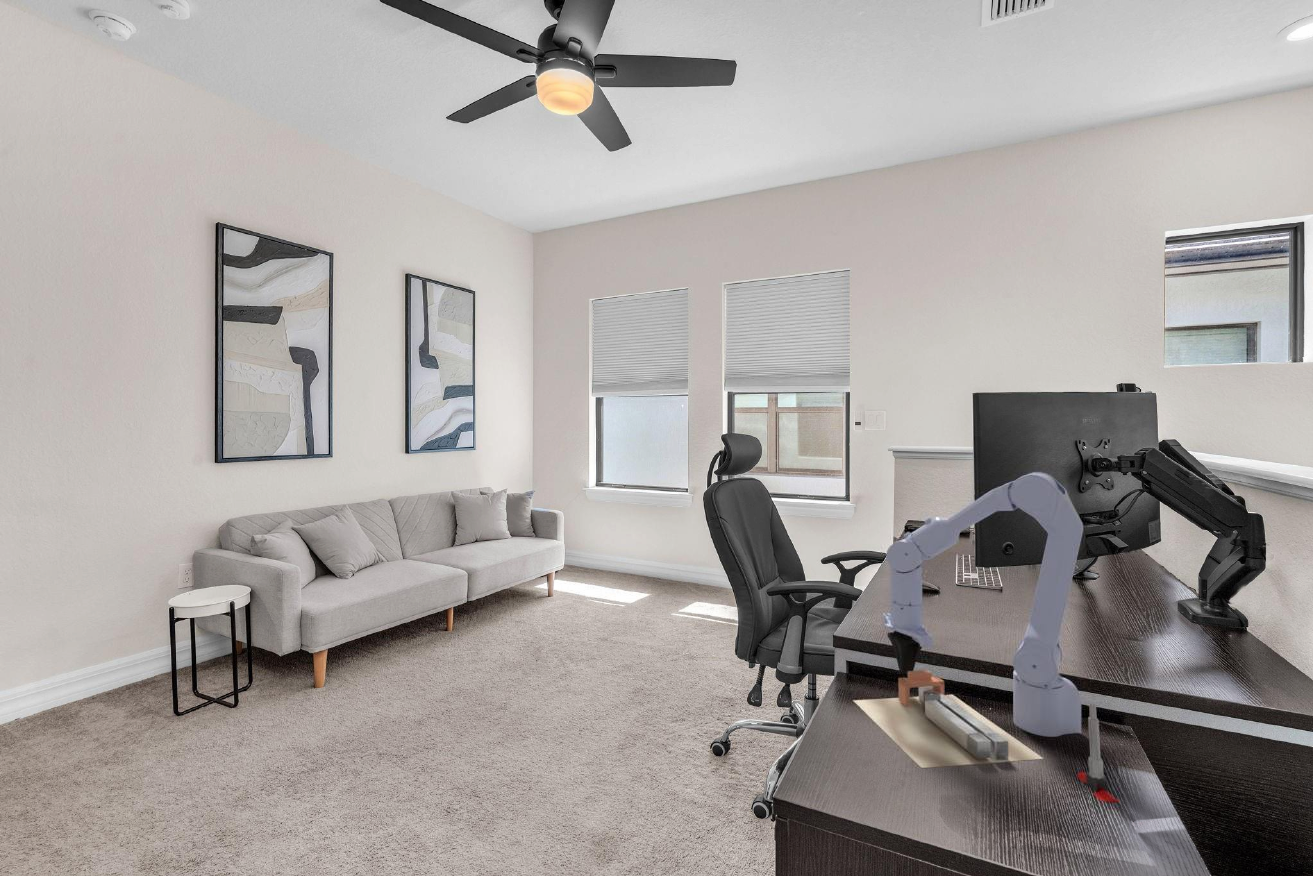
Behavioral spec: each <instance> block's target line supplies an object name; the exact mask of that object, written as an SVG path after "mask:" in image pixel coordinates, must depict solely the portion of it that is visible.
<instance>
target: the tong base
mask: <svg viewBox="0 0 1313 876" xmlns="http://www.w3.org/2000/svg"><path fill="white" fill-rule="evenodd" d="M945 695H946V694H945V693H944V694H942V693H941V692H939V691H938V690H937V689H935V688H934V687H933V686H929V687H918V697H919V700H920V701H922V702H923V711H924V712H925V701H929V700H936V701H938V702H939V703H940V704H941V705H943V706H944V707H945V708H947V709H948V710H949V711H951V712H952V713H953V714H955V715H956V716H957V717H959V718H960V719H961V720H963V721H964V722H965V723H966V724H968V725H969V726H970V727H972V728H973V729H974V730H976V731H977V732H978V733H981V734H982V735H983V736H985V737H986V738H987V739H988V740H990V741H991V757H992V758H993V759H994V760H1007V759H1008V740H1006V739H1005V738H1003V737H1002V736H1001V735H999V734H998V733H996V732H995V731H994V730H992V729H991V728H989V727H988V726H987V725H985V724H984V723H983V722H981V721H980V720H978V719H977V718H976V717H974V716H973V715H971V714H970V713H969V712H967V711H966V710H964V709H963V708H962V707H960V706H959V705H957V704H956V703H955V702H953V701H952V700H951V699H949V698H948V697H946V696H945Z"/></svg>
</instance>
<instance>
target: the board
mask: <svg viewBox="0 0 1313 876" xmlns="http://www.w3.org/2000/svg"><path fill="white" fill-rule="evenodd" d="M944 695H945V696H946V697H948V698H949V699H951V700H952V701H953V702H955V703H956V704H957V705H959V706H960V707H962V708H963V709H964V710H966V711H967V712H969V713H970V714H971V715H973V716H974V717H976V718H977V719H978V720H980V721H981V722H983V723H984V724H985V725H987V726H988V727H989V728H991V729H992V730H994V731H995V732H996V733H998V734H999V735H1001V736H1002V737H1003V738H1005V739H1006V740H1008V759H1007V760H994V759H993V758H992V757H991V758H985V759H977V758H976V757H974V756H973V755H972V754H971V753H970V752H968V751H967V750H966V749H965V748H964V747H962V746H961V745H960V744H959V743H958V742H956V741H955V740H954V739H953V738H952V737H950V736H949V735H948V734H947V733H946V732H944V731H943V730H942V729H941V728H940V727H938V726H937V725H936V724H935V723H933V722H932V721H931V720H930V719H929V718H927V717H926V716H925V712H924V711H923V702H922V701H920V700H919V696H910V706H905V705H904V704H903V703H902V702H900V701H899V697H891V698H874V699H873V698H872V699H857V700H855V699H853V700H852V701H853V702H854V703H855V704H856V705H857V707H859V708H860V709H861V710H862V711H863V712H864V713H865V714H866V716H868V717H869V719H871V720H872V721H873V722H874V723H875V724H876V725H877V726H878V727H879V728H880V729H881V730H882V731H883V732H884V733H885V734H886V735H887V736H888V737H889V738H890V739H891V740H892V741H893V742H894V743H895V744H896V745H897V746H898V747H900V748H901V750H902V751H903V752H904V753H905V754H907V756H909V758H911V760H912V761H913V762H915V763H916V764H917V765H918V767H919V768H920V769H928V768H929V769H930V768H939V767H941V768H942V767H955V766H968V765H979V764H980V765H982V764H994V763H995V764H996V763H1008V762H1023V761H1036V760H1044V757H1042V756H1041V755H1039V754H1038V753H1036V752H1035V751H1033V750H1032V749H1031V748H1029V747H1028V746H1026V745H1025V744H1023V743H1022V742H1021V741H1019V740H1018V739H1017V738H1015V737H1014V736H1013V735H1011V734H1010V733H1008V732H1006V731H1005V730H1004V729H1002V728H1001V727H1000V726H998V725H996V723H994V722H992V721H991V720H990V719H988V718H987V717H985V716H984V715H982V714H980V713H979V712H978V711H976V710H975V709H973V708H972V707H971V706H970V705H968V704H966V703H965V702H964V701H962V700H961V699H960V698H958V697H957V696H955V695H954V694H944Z"/></svg>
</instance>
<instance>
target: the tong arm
mask: <svg viewBox="0 0 1313 876" xmlns="http://www.w3.org/2000/svg"><path fill="white" fill-rule="evenodd" d="M925 716H926V717H927V718H929V719H930V720H931V721H932V722H933V723H935V724H936V725H937V726H938V727H940V728H941V729H942V730H943V731H944V732H946V733H947V734H948V735H949V736H950V737H952V738H953V739H954V740H955V741H956V742H958V743H959V744H960V745H961V746H962V747H964V748H965V749H966V750H967V751H968V752H970V753H971V754H972V755H973V756H974V757H976V758H977V759H985V758H991V741H990V740H988V739H987V738H986V737H985V736H983V735H982V734H981V733H978V732H977V731H976V730H974V729H973V728H972V727H970V726H969V725H968V724H966V723H965V722H964V721H963V720H961V719H960V718H959V717H957V716H956V715H955V714H953V713H952V712H951V711H949V710H948V709H947V708H945V707H944V706H943V705H941V704H940V703H939V702H938V701H936V700H929V701H925Z"/></svg>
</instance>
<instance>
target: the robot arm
mask: <svg viewBox="0 0 1313 876" xmlns="http://www.w3.org/2000/svg"><path fill="white" fill-rule="evenodd" d="M1017 509H1020V510H1021V511H1022V512H1025V513H1026V514H1028V515H1029V516H1031V517H1033V518H1034V519H1035V520H1036V522H1038V523H1039V525H1040V526H1041V527H1042V528H1043V529H1044V530H1045V532H1047V538H1046V542H1045V543H1046V544H1045V547H1044V552H1043V557H1042V561H1041V566H1040V571H1039V575H1038V580H1037V583H1036V588H1035V594H1034V598H1033V601H1032V602H1033V603H1032V608H1031V610H1030V611H1031V612H1030V617H1029V621H1028V624H1027V628H1026V630H1025V635H1024V637H1023V638H1022V639H1021V640H1020V642H1019V643H1020V644H1019V647H1018V649H1017V650H1016V652H1014V653H1013V656H1012V666H1013V672H1012V674H1013V677H1012V678H1013V680H1012V681H1013V682H1012V683H1013V685H1012V686H1013V691H1012V693H1013V698H1012V699H1013V704H1012V706H1013V708H1012V709H1013V711H1012V713H1013V714H1012V715H1013V720H1012V722H1013V725H1015V726H1017V728H1019V729H1020V730H1022V731H1024V732H1027V733H1030V734H1033V735H1036V736H1040V737H1041V736H1042V737H1060V736H1062V735H1068V734H1080V735H1081V734H1082V699H1081V695H1080V692H1079V690H1078V688H1077V687H1076V685H1075V684H1074V683H1073V682H1072V681H1071V680H1070V679H1068V678H1065V677H1063V676H1062V675H1061V674H1060V673H1059V667H1060V664H1061V662H1062V660H1063V651H1062V648H1061V645H1060V637H1061V633H1062V625H1063V621H1064V617H1065V612H1066V608H1067V603H1068V599H1069V595H1070V591H1071V586H1072V581H1073V576H1074V573H1075V568H1076V565H1077V560H1078V555H1079V551H1080V547H1081V541H1082V537H1083V533H1084V524H1083V521H1082V520H1081V518H1080V515H1079V514H1078V512H1077V510H1076V508H1075V505H1074V504H1073V502H1072V500H1071V498H1070V496H1069V494H1068V491H1067V489H1066V488H1065V487H1064V486H1063V484H1061V483H1060V482H1058V480H1057V479H1055V478H1054V476H1052V475H1050V474H1049V473H1045V472H1041V471H1035V472H1034V471H1033V472H1030V473H1027V474H1026V475H1022V476H1020V477H1019V478H1017V479H1015V480H1012V481H1009V482H1007V483H1004V484H1003V485H1001V486H997V487H996V488H993V489H991V490H990V491H988V492H987V493H984V494H983V495H982V496H980V497H979V498H978V499H976V500H974V501H973V502H971V503H970V504H968V505H967V506H966V507H964V508H962V509H961V510H960V511H958V512H957V513H955V514H953V515H952V516H950V517H948V518H947V517H943V516H936V517H934V518H933V517H928V518H926V519H925V520H924V521H923V523H924V525H922V526H920V527H918V528H917V529H916V530H914V531H912V532H910V531H907V532H906V533H904V535H903V536H904V538H903V539H901V540H897V541H894V542H893V543H892V544H891V545H890V546H889V547H888V549H887V550H886V556H885V557H886V561H887V564H889V566H890V577H889V579H890V580H889V581H890V582H889V587H890V588H889V591H890V592H889V600H890V601H889V605H890V606H889V607H890V608H889V609H890V610H889V612H887V613H882V624H884V628H885V629H886V630H888V631H893V632H887V637H888V640H889V641H890V644H891V645H892V649H893V651H894V654H895V659H896V661H897V662H896V663H897V666H898V669H899V672H901V673H902V674H908V671H915V666H916V662H917V659H918V656H919V654H920V652H921V650H922V649H924V648H933V647H934V646H933V645H934V641H933V639H934V637H933V636H932V635H931V634H930V633H928V631H927V629H926V628H925V626H924V625H923V577H922V573H923V572H922V569H923V568H922V565H923V564H924V563H925V561H926V560H927V561H929V560H931V559H933V558H934V557H936V556H938V555H939V554H941V553H943V552H944V551H946V550H948V549H950V548H951V547H953V546H955V545H957V544H958V543H959V539H960V535H961V534H960V533H961V532H964V530H966V529H968V528H969V527H972V526H973V525H975V524H977V523H978V522H980V521H982V520H984V519H986V518H987V517H989V516H991V515H994V513H997V512H1005V511H1006V512H1009V511H1010V512H1012V511H1015V510H1017Z"/></svg>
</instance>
